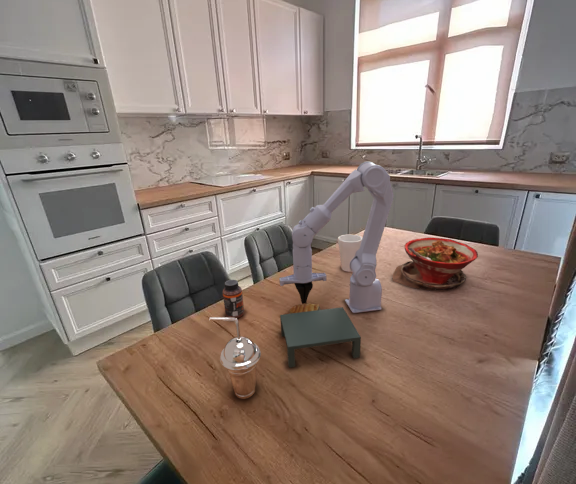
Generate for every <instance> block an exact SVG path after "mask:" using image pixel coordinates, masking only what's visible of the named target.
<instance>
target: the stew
mask: <svg viewBox="0 0 576 484" xmlns="http://www.w3.org/2000/svg"><path fill="white" fill-rule="evenodd" d="M404 251H405V253H406V255H407V256H408V257H409V259H410V261H406V262H405V263H403V264H400V265H398V266H397V267H396V268H395V270H394V271H393V274H392V282H395V283H399V284H401V285H403V286H406V287H409V288H412V289H415V290H416V289H417V290H421V289H422V290H426V291H443V292H444V291H450V290H454V289H457V288H458V287H459V286H460V285H461V284H463V283H465V281H466V280H467V275H466V274H465V273H464V271H463V269H465V268H466V267H467V266H468V265H470V264H471V263H473V262H474V261H475V260H476V259H477V258H478V257H479V253H478V251H477V249H475V248H473V247H472V246H469V245H468V244H466V243H463V242H460V241H457V240H454V239H451V238H442V237H422V238H415V239H411V240H409V241H407V242H405V244H404ZM449 280H451V282H452V283H451V284H449Z"/></svg>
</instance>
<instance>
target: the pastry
mask: <svg viewBox="0 0 576 484" xmlns="http://www.w3.org/2000/svg"><path fill="white" fill-rule="evenodd" d="M315 310H321V306H320V304H318V303H317V304H314V303H309V302H307V303H306V304H302V303H301V304H296V305H293V306H291V308H290V309H289V314H291V313H299V312H307V311H315Z"/></svg>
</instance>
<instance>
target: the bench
mask: <svg viewBox="0 0 576 484" xmlns="http://www.w3.org/2000/svg"><path fill="white" fill-rule="evenodd" d="M279 321H280V334H281V337H284V339H285V344H286V353H287V365H288V368H289V369H290V368H295V367H296V352H295V351H296V350H301V349H306V348H307V349H308V348H314V347H323V346H329V345H337V344H343V343H351V356H352V358H353V359H358V358H360V357H361V344H362V343H361V342H362V336H361V334H360V333H359V331H358V330H357V328H356V326H355V325H354V323H353V322H352V320H351V318H350V317H349V315H348V314H347V312H346V310H345V308H344V307H343V306H341V307H332V308H324V309H320V310H315V311H307V312H299V313H291V314H290V313H284V314H279Z"/></svg>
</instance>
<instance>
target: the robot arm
mask: <svg viewBox="0 0 576 484" xmlns="http://www.w3.org/2000/svg"><path fill="white" fill-rule="evenodd" d="M365 188H366V189H367V191H368V192H369V194H370V195H371V196H372V198H373V200H372V203H371V205H370V206H371V207H370V209H369V212H368V217H367V219H366V220H367V221H366V224H365V227H364V231H363V234H362V241H361V245H360V248H359V250H357V251H356V254H355V256H354V258H353V259H352V260H351V261H350V265H349V266H350V269H351V271H352V272H351V273H352V274H351V275H350V278H349V295H348V296H349V297H348V298H345V299H344V303H346V306H348V308H349V309H350V311H351V313H353V314H357V313H359V314H360V313H366V312H374V311H381V310H382V309H383V308H382V296H383V294H382V293H383V288H382V287H383V286H382V283H381V281H380V280H379V278H377V272H376V269H377V253H378V250H379V247H380V244H381V241H382V237H383V235H384V230H385V228H386V224H387V221H388V217H389V214H390V212H391V208H392V204H393V201H394V198H395V194H394V191H393V187H392V183H391V175H390V174H389V173H388V171H387V170H386V169H385V168H384V167H383V166H382V165H379V164H376V163H374V162H372V161H364V162H362V163H360V164H359V165H358V166H357V168H355V169H354V170H353V171H351V172H350V173H349V175H348V176H347V177H346V179H344V181H342V183H341V184H340V185H339V186H338V187H337V189H335V191H333V193H332V194H331V195H330V196H329V197H328V199H327V200H326V201H325V202H324V203H323V204H316V205H315V206H311V207H310V208H309V212H308V213H307V215H305V217H304V218H303V219H300V220H299V221H298V223H297V224H296V225H294V226H293V227H292V230H291V241H292V268H293V269H292V271H293V274H290V275H286V276H282V277H279V279H278V280H279V285H280V287H283V286H285V285H291V284H292V285H293V284H294V287H295V289H296V290H297V293H298V295H299V297H300V302H301V305H302V304H306V303H308V298H309V295H310V293H311V291H312V289H313V287H314V283H313V282H319V281H320V282H321V281H322V282H327V278H328V277H327V274H326V272H313V255H312V254H313V250H312V243H313V240H314V236H316V235H317V234H318V233H319V232H320V231H321V230H323V228H324V227H325V226H326V225H327V224H328V223H329V222H330V221H331V220H332V213H334V211H335V210H336V209H337V208H339V206H340V205H342V203H344V202H345V201H346V200H347V199H348V198H349V197H350V196H352V195H353V194H354V193H361V192H365V191H366V189H365Z"/></svg>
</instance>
